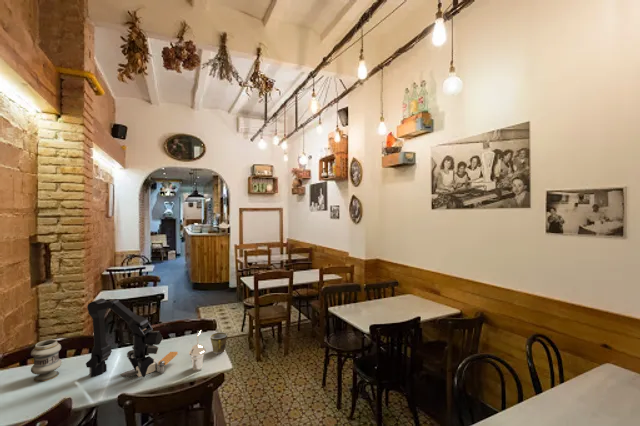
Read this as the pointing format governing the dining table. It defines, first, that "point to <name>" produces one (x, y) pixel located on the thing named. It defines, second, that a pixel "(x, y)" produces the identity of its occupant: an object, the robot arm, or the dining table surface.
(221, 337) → the ceramic cup
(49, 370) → the apothecary jar
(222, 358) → the dining table surface
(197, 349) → the cup with straw
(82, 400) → the dining table surface
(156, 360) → the grey piece
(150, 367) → the plug
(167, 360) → the copper metal plate
